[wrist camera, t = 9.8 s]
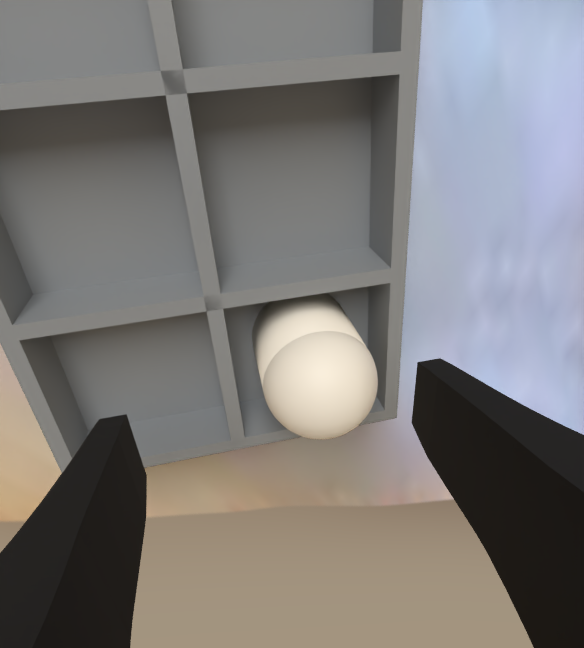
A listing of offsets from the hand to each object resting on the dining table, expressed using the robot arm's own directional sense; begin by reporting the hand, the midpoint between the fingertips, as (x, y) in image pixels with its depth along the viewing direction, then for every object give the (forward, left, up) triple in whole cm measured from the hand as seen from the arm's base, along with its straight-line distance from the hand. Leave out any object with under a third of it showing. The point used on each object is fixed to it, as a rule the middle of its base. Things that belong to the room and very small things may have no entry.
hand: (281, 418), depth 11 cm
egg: (+2, -3, -9) cm, 9 cm away
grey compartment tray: (-1, +4, -10) cm, 10 cm away
